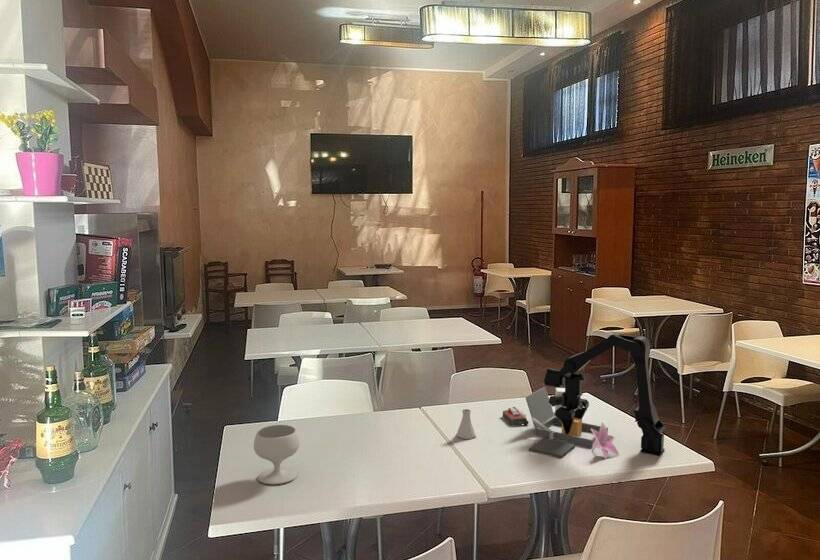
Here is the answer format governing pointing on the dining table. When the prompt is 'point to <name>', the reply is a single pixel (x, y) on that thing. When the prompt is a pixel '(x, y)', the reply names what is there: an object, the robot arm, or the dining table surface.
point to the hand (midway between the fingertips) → (571, 430)
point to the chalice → (276, 452)
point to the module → (575, 428)
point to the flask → (466, 426)
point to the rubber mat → (552, 447)
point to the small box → (558, 392)
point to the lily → (604, 441)
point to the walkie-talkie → (515, 416)
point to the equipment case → (553, 420)
